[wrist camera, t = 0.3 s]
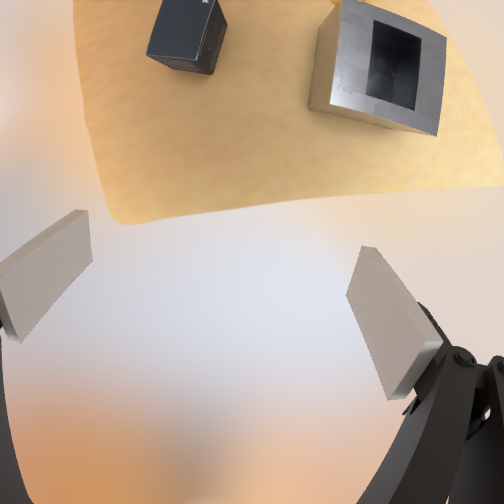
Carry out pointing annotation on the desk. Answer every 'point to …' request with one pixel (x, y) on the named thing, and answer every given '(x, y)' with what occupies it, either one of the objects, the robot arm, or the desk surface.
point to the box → (188, 35)
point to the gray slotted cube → (379, 69)
